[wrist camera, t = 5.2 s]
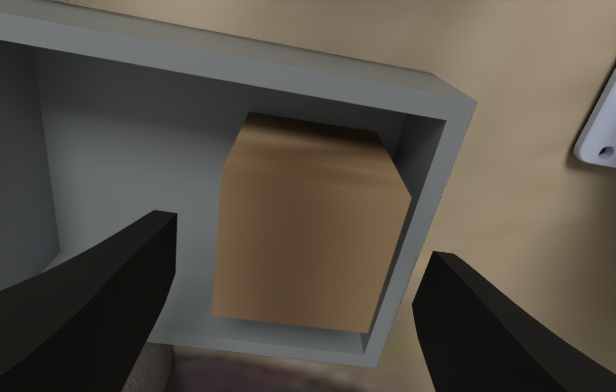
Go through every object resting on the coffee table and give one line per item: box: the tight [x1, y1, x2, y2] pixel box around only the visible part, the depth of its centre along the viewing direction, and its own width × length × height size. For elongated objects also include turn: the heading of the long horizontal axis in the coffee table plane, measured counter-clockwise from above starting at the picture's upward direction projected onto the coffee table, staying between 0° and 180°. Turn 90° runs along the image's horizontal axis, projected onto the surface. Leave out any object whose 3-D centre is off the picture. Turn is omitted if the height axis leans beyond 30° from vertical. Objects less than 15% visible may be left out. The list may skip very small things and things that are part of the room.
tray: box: [0, 0, 477, 368], centre depth 13 cm, size 14×10×4 cm
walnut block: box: [211, 112, 412, 333], centre depth 12 cm, size 4×4×5 cm
